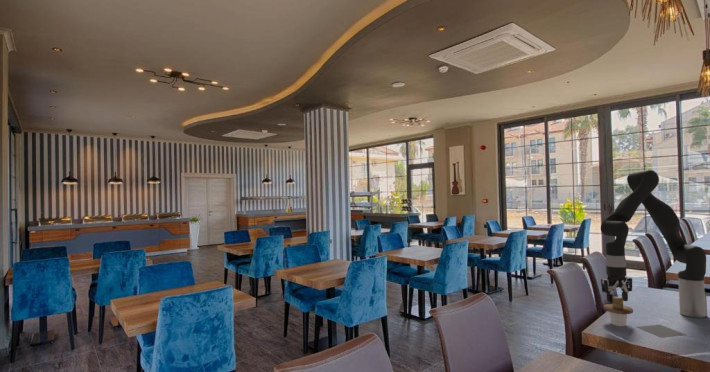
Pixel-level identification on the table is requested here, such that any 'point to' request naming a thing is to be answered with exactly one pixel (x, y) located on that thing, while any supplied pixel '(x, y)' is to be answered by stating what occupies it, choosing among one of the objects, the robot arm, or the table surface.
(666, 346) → the table surface
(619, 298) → the walnut lid
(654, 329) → the rubber mat
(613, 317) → the white short cylinder
